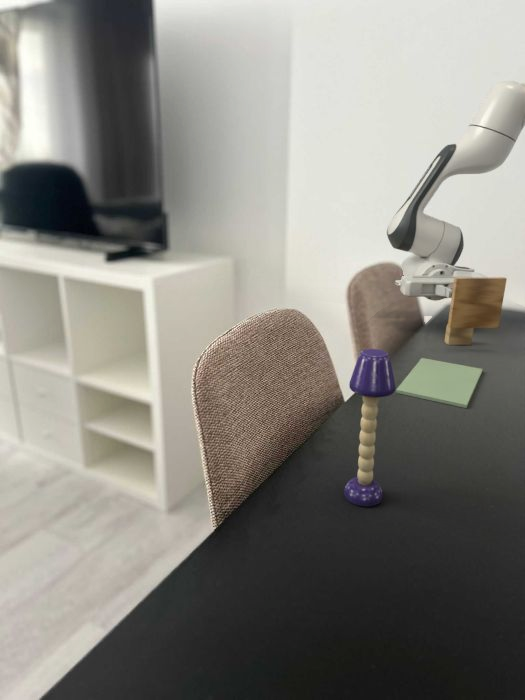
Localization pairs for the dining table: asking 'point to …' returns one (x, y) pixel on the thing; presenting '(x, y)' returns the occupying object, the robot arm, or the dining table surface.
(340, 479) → the dining table surface
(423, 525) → the dining table surface
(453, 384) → the mat
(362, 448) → the toy lamp
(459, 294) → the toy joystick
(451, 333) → the block
